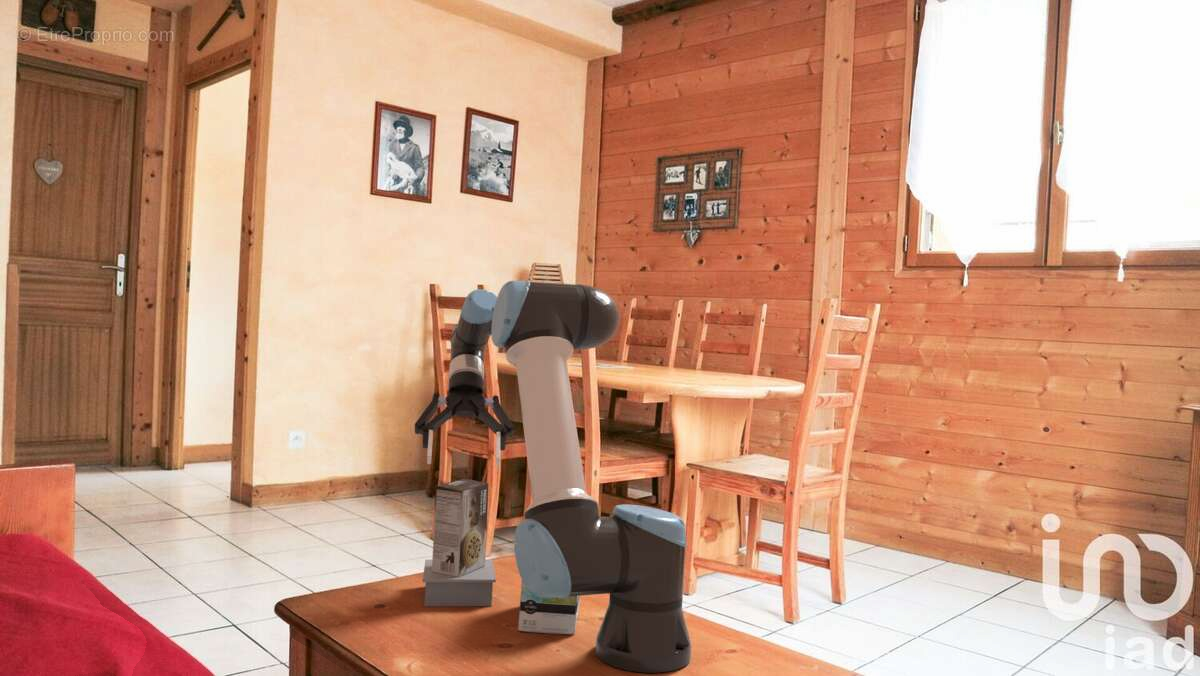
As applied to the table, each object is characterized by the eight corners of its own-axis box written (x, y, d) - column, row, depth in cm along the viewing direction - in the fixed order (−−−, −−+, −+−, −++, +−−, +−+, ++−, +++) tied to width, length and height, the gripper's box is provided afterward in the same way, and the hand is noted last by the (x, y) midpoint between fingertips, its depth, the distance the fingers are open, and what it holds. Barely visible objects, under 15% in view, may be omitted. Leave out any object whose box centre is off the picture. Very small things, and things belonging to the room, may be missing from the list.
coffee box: (458, 561, 168) (462, 478, 167) (486, 566, 165) (490, 482, 165) (429, 572, 159) (434, 484, 159) (459, 577, 157) (463, 489, 156)
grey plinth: (494, 606, 157) (495, 579, 157) (421, 607, 155) (422, 579, 154) (491, 585, 170) (492, 560, 169) (424, 585, 167) (425, 559, 167)
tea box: (576, 636, 144) (581, 548, 144) (517, 632, 144) (521, 544, 144) (580, 607, 159) (584, 527, 159) (525, 604, 159) (530, 524, 159)
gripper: (522, 394, 191) (524, 473, 177) (407, 389, 187) (400, 470, 173) (525, 371, 186) (527, 451, 172) (407, 366, 182) (399, 447, 167)
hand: (463, 461), depth 172 cm, fingers open, 13 cm apart
